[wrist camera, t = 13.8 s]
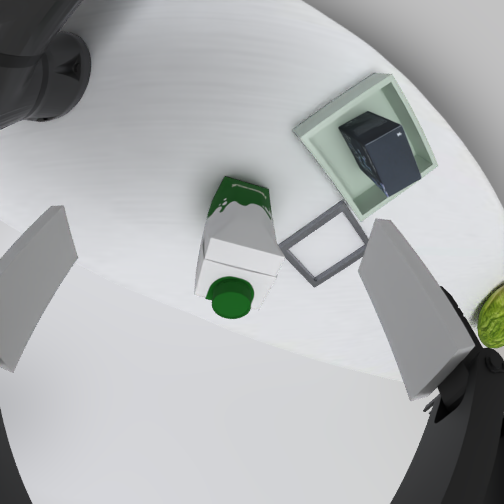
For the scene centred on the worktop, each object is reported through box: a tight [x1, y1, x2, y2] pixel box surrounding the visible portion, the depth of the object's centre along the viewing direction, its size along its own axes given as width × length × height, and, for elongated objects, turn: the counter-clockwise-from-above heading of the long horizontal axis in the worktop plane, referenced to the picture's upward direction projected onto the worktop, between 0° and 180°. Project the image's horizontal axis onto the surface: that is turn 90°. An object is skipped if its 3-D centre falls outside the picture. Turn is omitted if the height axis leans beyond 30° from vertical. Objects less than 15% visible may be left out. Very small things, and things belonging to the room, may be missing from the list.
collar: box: [278, 201, 369, 288], centre depth 48 cm, size 12×14×1 cm
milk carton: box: [194, 176, 285, 319], centre depth 35 cm, size 9×9×20 cm
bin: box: [293, 73, 438, 222], centre depth 35 cm, size 16×16×6 cm
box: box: [338, 111, 422, 197], centre depth 33 cm, size 8×6×11 cm
